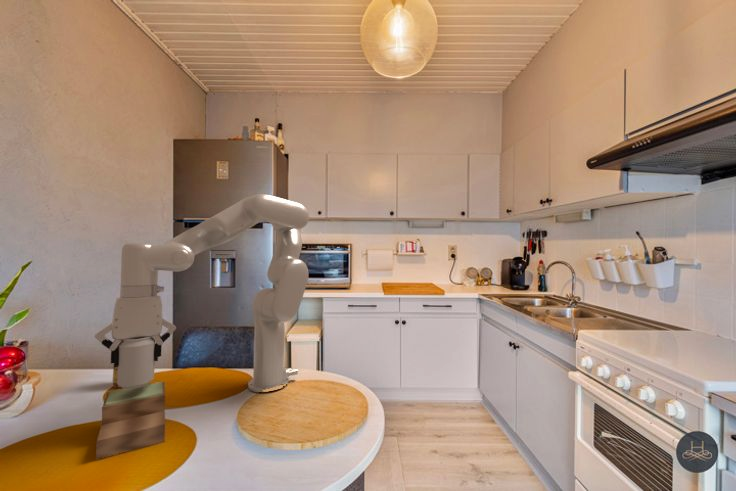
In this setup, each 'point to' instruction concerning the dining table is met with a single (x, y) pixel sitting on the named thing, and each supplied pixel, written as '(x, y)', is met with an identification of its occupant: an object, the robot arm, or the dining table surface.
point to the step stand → (132, 419)
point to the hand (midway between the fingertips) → (136, 362)
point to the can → (136, 362)
